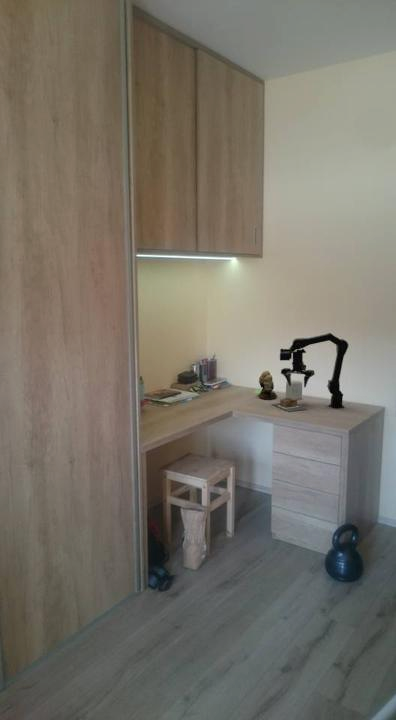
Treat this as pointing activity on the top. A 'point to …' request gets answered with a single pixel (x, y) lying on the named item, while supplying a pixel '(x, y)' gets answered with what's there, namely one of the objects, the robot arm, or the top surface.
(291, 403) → the walnut card box
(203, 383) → the top surface
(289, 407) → the picture frame
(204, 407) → the top surface
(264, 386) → the bust sculpture
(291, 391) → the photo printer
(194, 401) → the top surface
